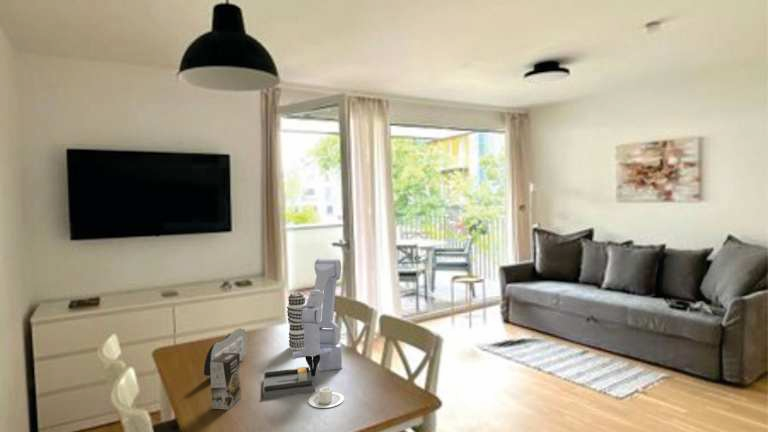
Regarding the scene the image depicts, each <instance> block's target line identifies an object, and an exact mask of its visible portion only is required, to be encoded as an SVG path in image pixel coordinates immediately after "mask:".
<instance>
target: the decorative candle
mask: <svg viewBox="0 0 768 432" xmlns="http://www.w3.org/2000/svg"><path fill="white" fill-rule="evenodd" d="M287 299H288V304H287V307H286V309H287V311H286V312H287V317H288V318H287V321H288V324H289V331H288V332H289V333H288V335H289V336H288V338H289V340H288V342H289V343H288V346H289V350H290V351H291V350H292V351H302V350H305V346H304V328H303V327H302V322H301V312H302V310H303V309H304V308H305V307H306V304H307V303H306V296H305V295H304V293H302V292H293V293H291V294H289V296H288V297H287Z"/></svg>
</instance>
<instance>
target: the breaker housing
mask: <svg viewBox="0 0 768 432" xmlns="http://www.w3.org/2000/svg"><path fill="white" fill-rule="evenodd" d="M305 367H306V366H305ZM298 368H299V367H297V368H292V369H291V368H290V369H282V370H281V369H280V370H273V371H266V372H264V375H263V388H262V396H263V397H262V398H263V399H270V398H277V397H284V396H285V397H286V396H294V395H298V394H308V393H315V392H316V384H315V379H314V376H311V370H310V368H309V366H308V367H306V371H307V381H301V382H299V380H298Z"/></svg>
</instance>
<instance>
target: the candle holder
mask: <svg viewBox="0 0 768 432" xmlns="http://www.w3.org/2000/svg"><path fill="white" fill-rule="evenodd" d="M318 391H319V393H316V394H313V395H312V396H311V397H310V398H309V399H308V404H309V405H310V406H312V407H314V408H320V409H326V408H327V409H328V408H333V407H336V406H338V405H340V404H342V403H343V401H344V400H345V397H344V395H343V394H341V393H340V392H336V391H335V392H334V391H333V390H332V388H331V387H329V386H328V387H327V386H324V387H321V388H320V389H319V390H318ZM333 396H335V397H337V398H338V401H337V402H336V403H334V404H329V403H331V402H332V401H333ZM318 397H319V403H321V404H329V405H319V404H318V405H317V404H316V403H315V402H314V401H315V399H317V398H318Z"/></svg>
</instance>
